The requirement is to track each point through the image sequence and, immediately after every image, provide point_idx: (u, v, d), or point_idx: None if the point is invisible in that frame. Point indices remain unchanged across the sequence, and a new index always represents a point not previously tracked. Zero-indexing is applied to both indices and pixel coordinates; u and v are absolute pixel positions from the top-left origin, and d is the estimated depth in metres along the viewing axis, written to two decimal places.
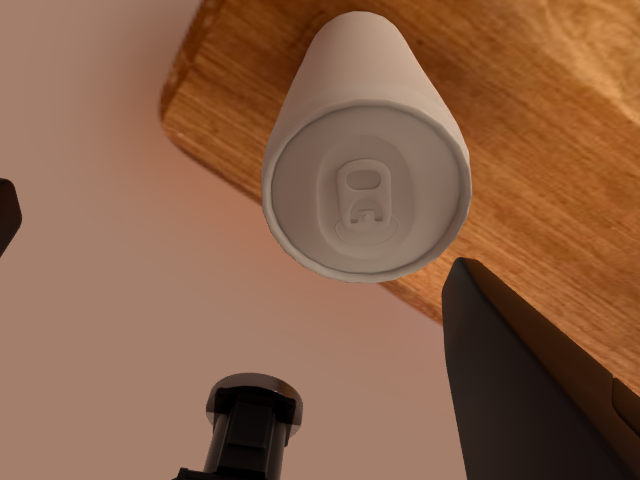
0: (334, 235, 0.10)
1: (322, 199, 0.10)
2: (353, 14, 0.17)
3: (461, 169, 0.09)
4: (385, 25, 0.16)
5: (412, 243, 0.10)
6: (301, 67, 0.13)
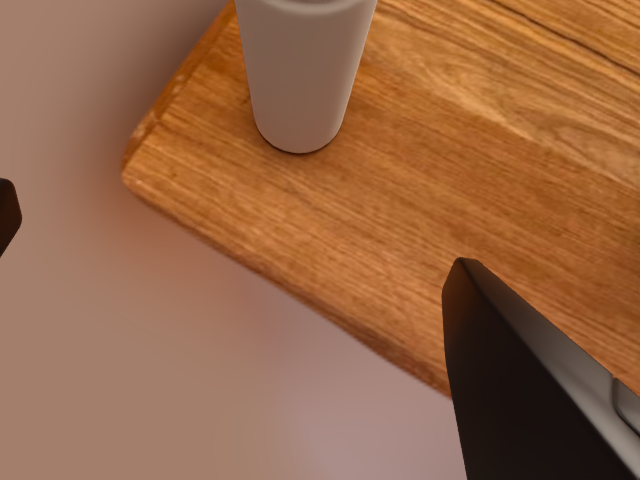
0: None
1: None
2: None
3: None
4: None
5: None
6: None
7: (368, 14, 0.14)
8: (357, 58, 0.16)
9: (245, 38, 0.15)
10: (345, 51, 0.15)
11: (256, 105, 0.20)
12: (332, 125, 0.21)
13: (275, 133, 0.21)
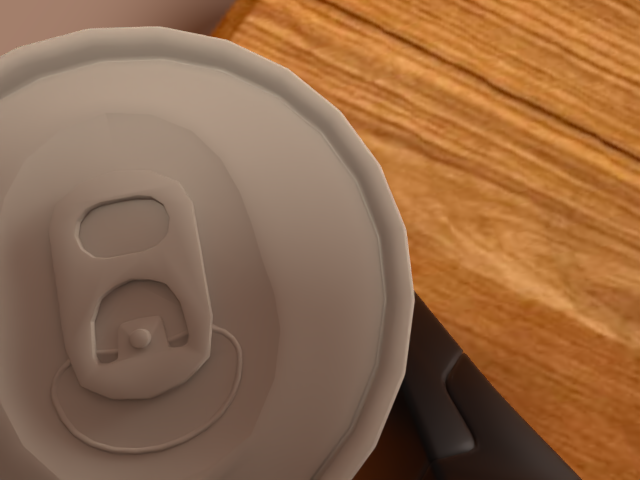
0: (52, 422, 0.03)
1: (10, 300, 0.03)
2: None
3: (361, 176, 0.04)
4: None
5: (290, 413, 0.03)
6: None
7: None
8: None
9: None
10: None
11: None
12: None
13: None
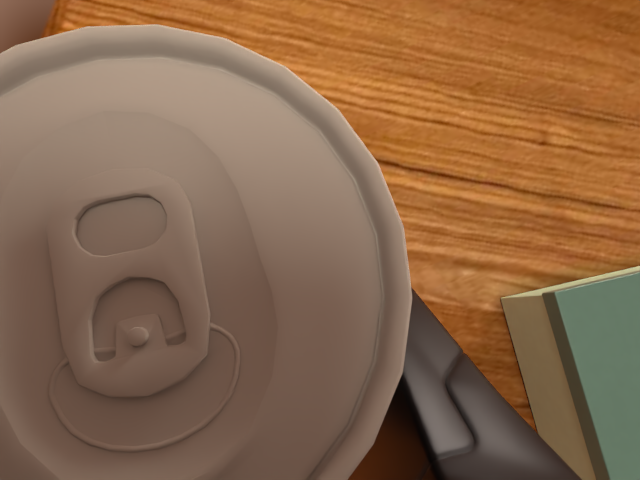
0: (48, 420, 0.03)
1: (8, 297, 0.03)
2: None
3: (359, 174, 0.04)
4: None
5: (288, 411, 0.03)
6: None
7: None
8: None
9: None
10: None
11: None
12: None
13: None
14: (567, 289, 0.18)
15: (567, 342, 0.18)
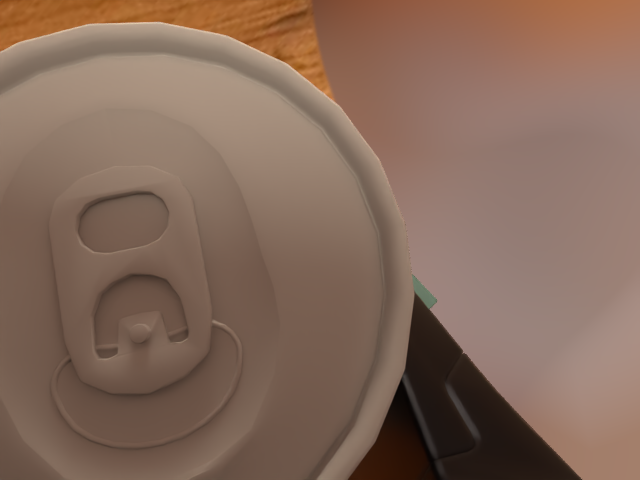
0: (50, 417, 0.03)
1: (11, 294, 0.03)
2: None
3: (361, 171, 0.04)
4: None
5: (290, 407, 0.03)
6: None
7: None
8: None
9: None
10: None
11: None
12: None
13: None
14: None
15: None
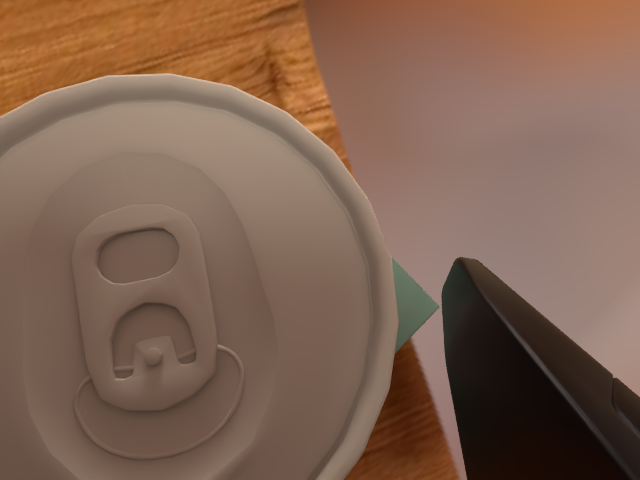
0: (72, 431, 0.04)
1: (36, 321, 0.04)
2: None
3: (352, 208, 0.04)
4: None
5: (287, 423, 0.04)
6: None
7: None
8: None
9: None
10: None
11: None
12: None
13: None
14: None
15: None
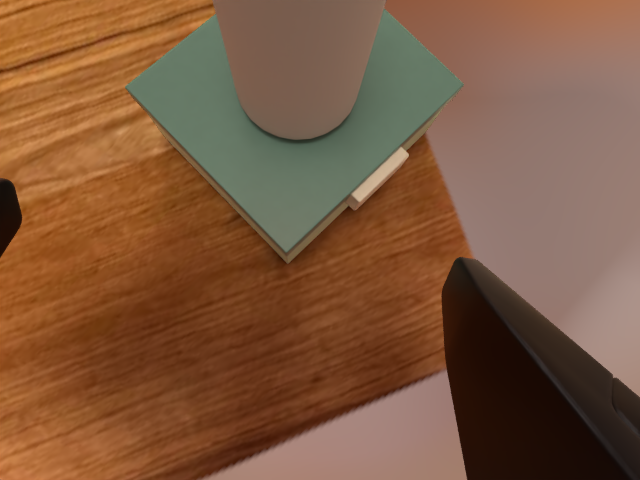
0: None
1: None
2: None
3: None
4: None
5: None
6: None
7: None
8: None
9: None
10: None
11: (234, 69, 0.14)
12: (345, 98, 0.15)
13: (263, 111, 0.15)
14: (137, 77, 0.17)
15: (161, 125, 0.17)
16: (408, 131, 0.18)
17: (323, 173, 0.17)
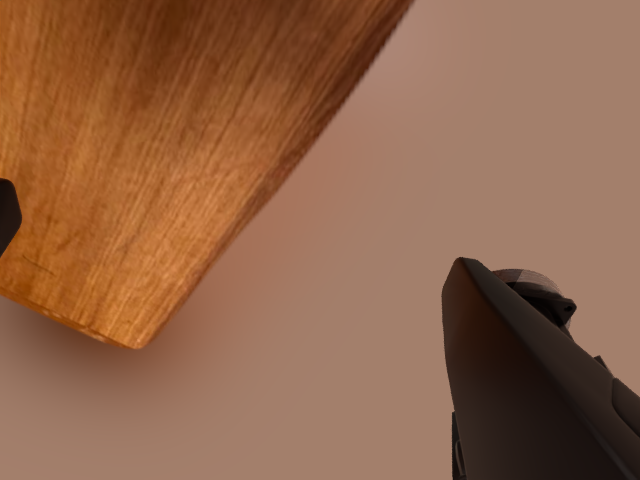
0: None
1: None
2: None
3: None
4: None
5: None
6: None
7: None
8: None
9: None
10: None
11: None
12: None
13: None
14: None
15: None
16: None
17: None
